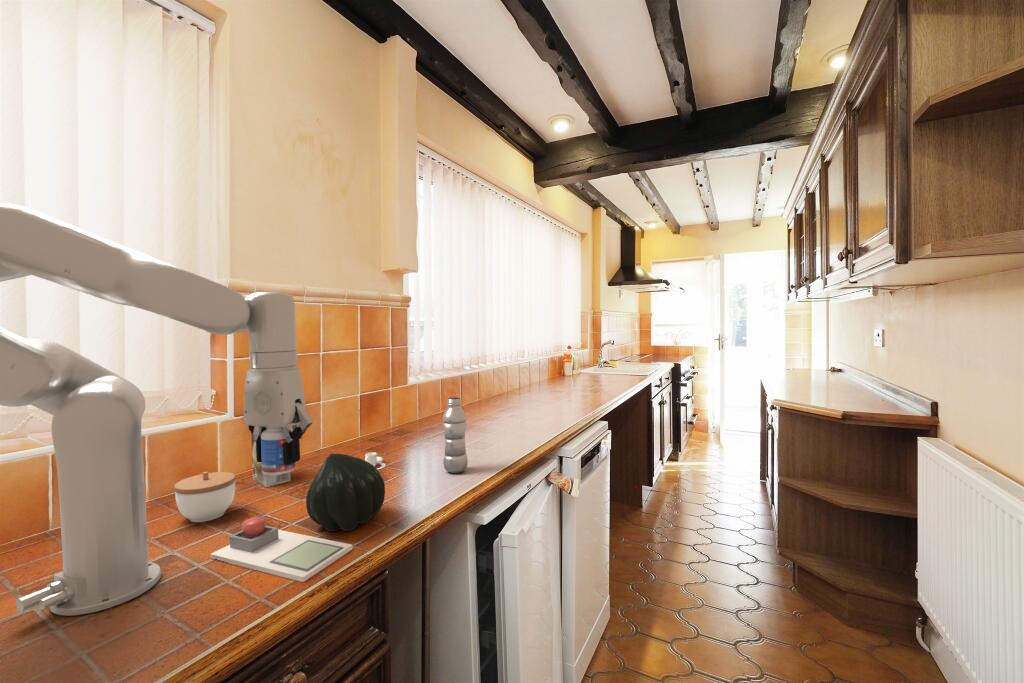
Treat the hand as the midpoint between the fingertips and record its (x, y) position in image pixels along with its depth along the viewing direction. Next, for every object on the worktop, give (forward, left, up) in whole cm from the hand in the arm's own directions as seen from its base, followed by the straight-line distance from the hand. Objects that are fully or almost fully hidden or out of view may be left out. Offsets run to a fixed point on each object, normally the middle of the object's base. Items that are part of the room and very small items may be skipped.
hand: (278, 460), depth 82 cm
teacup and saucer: (+45, +13, -16) cm, 50 cm away
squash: (+12, -5, -16) cm, 20 cm away
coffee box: (+25, +32, -16) cm, 44 cm away
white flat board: (-2, -3, -16) cm, 16 cm away
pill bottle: (0, 0, -2) cm, 2 cm away
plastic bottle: (+47, -10, -16) cm, 51 cm away
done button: (-2, +4, -13) cm, 14 cm away
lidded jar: (+4, +26, -16) cm, 31 cm away
